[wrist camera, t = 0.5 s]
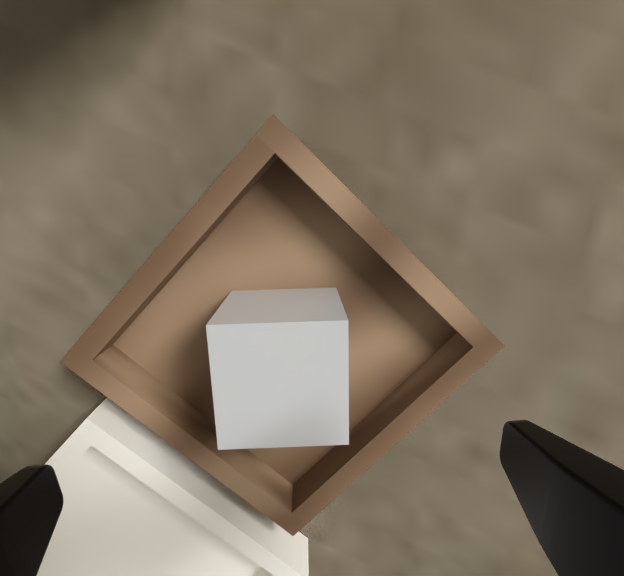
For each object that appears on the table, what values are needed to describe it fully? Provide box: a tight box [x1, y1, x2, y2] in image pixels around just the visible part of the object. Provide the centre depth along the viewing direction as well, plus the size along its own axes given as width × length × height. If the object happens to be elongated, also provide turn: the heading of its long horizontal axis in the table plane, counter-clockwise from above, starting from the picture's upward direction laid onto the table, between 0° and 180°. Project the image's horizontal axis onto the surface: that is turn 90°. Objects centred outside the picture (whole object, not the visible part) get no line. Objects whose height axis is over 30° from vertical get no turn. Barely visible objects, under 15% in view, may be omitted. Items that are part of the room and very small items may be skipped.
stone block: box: [206, 288, 349, 450], centre depth 16 cm, size 5×5×5 cm
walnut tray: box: [60, 114, 504, 536], centre depth 18 cm, size 14×14×2 cm
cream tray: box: [37, 397, 309, 576], centre depth 21 cm, size 14×14×2 cm
